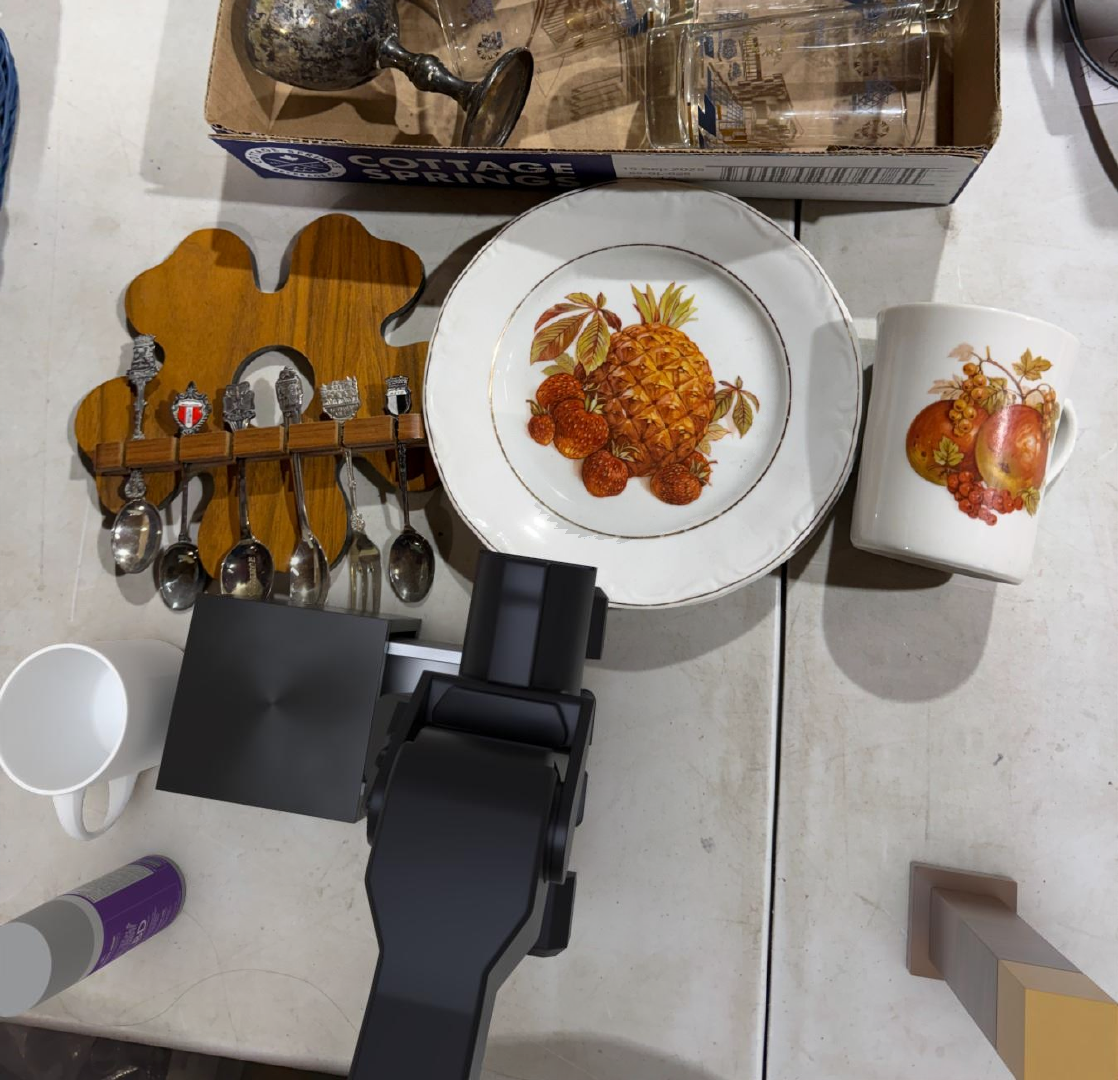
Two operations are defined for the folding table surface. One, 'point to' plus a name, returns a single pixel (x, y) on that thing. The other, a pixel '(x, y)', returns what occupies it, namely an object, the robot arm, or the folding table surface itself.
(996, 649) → the folding table surface
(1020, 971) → the block
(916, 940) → the stand
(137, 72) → the folding table surface
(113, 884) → the container
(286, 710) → the black drawer box
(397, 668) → the drawer with silver handle
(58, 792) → the mug
